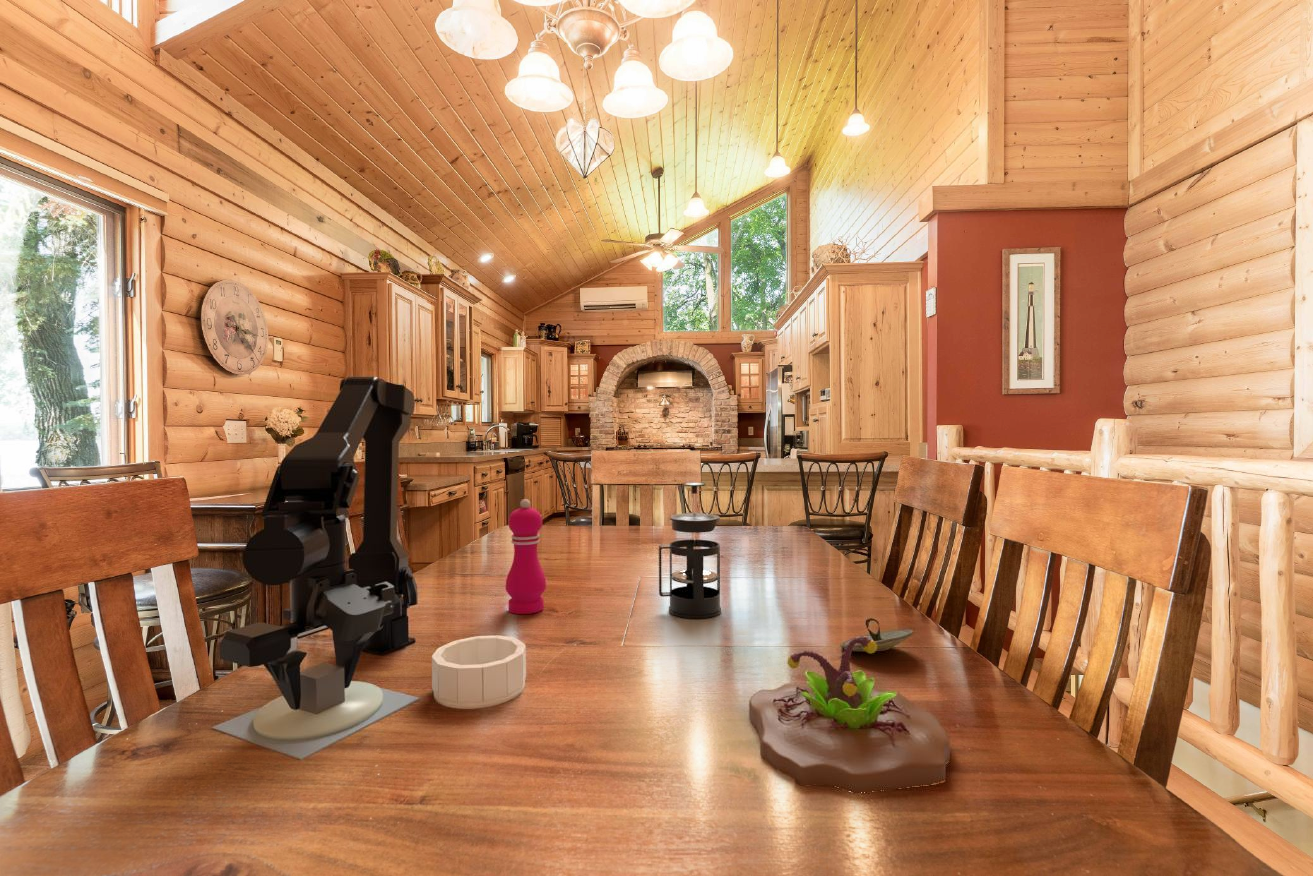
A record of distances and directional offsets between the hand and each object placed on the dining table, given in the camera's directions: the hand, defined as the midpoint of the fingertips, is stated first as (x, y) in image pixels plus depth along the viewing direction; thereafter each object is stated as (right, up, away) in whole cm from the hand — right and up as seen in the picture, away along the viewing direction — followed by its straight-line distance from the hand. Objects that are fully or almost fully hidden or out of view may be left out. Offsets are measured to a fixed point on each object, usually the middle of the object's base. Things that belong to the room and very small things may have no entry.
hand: (320, 697), depth 71 cm
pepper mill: (+15, -1, +41) cm, 43 cm away
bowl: (+16, -2, +7) cm, 18 cm away
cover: (0, -2, 0) cm, 2 cm away
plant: (+59, -3, -6) cm, 59 cm away
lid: (+71, -2, +19) cm, 73 cm away
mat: (0, -2, 0) cm, 2 cm away
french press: (+45, -1, +39) cm, 60 cm away
